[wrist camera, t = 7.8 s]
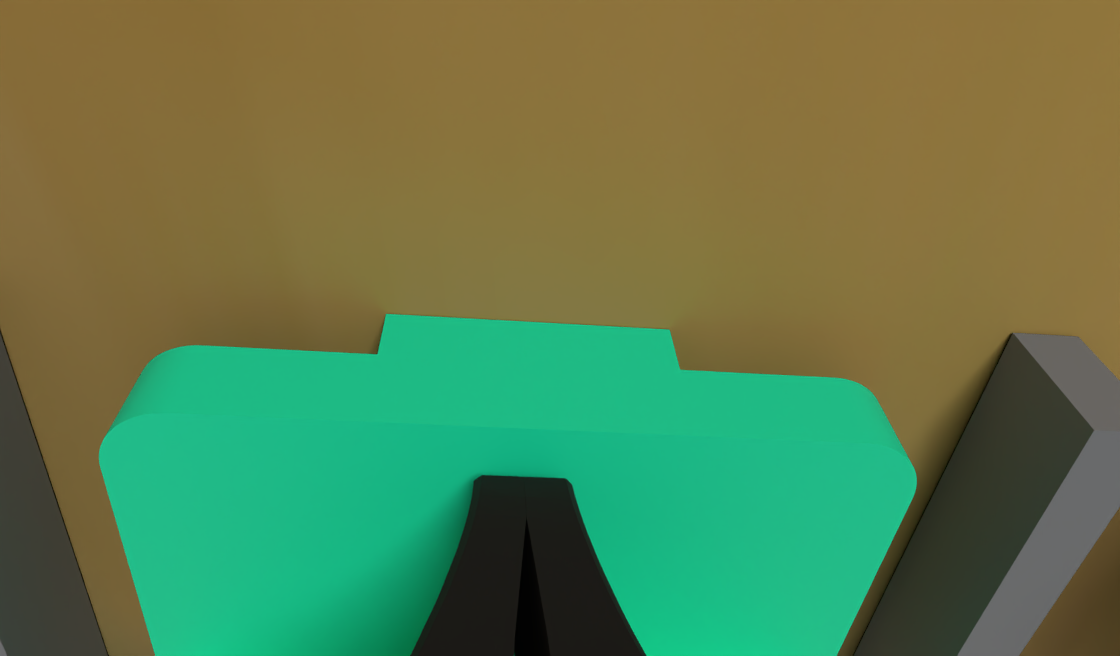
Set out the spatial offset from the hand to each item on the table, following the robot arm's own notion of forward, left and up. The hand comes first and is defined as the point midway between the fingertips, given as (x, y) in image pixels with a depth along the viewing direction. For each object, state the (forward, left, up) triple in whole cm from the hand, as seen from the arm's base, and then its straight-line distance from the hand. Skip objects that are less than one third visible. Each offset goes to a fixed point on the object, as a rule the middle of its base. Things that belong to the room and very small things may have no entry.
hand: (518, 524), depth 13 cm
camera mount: (0, +2, -3) cm, 4 cm away
